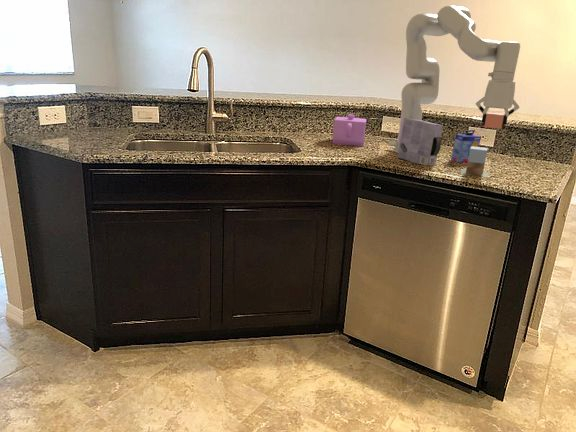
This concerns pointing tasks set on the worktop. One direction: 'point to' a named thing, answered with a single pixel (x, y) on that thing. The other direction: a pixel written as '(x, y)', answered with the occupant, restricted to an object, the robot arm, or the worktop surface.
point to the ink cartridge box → (464, 146)
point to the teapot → (349, 130)
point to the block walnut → (475, 168)
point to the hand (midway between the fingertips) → (493, 125)
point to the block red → (494, 120)
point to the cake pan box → (420, 141)
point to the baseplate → (475, 175)
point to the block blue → (477, 154)
